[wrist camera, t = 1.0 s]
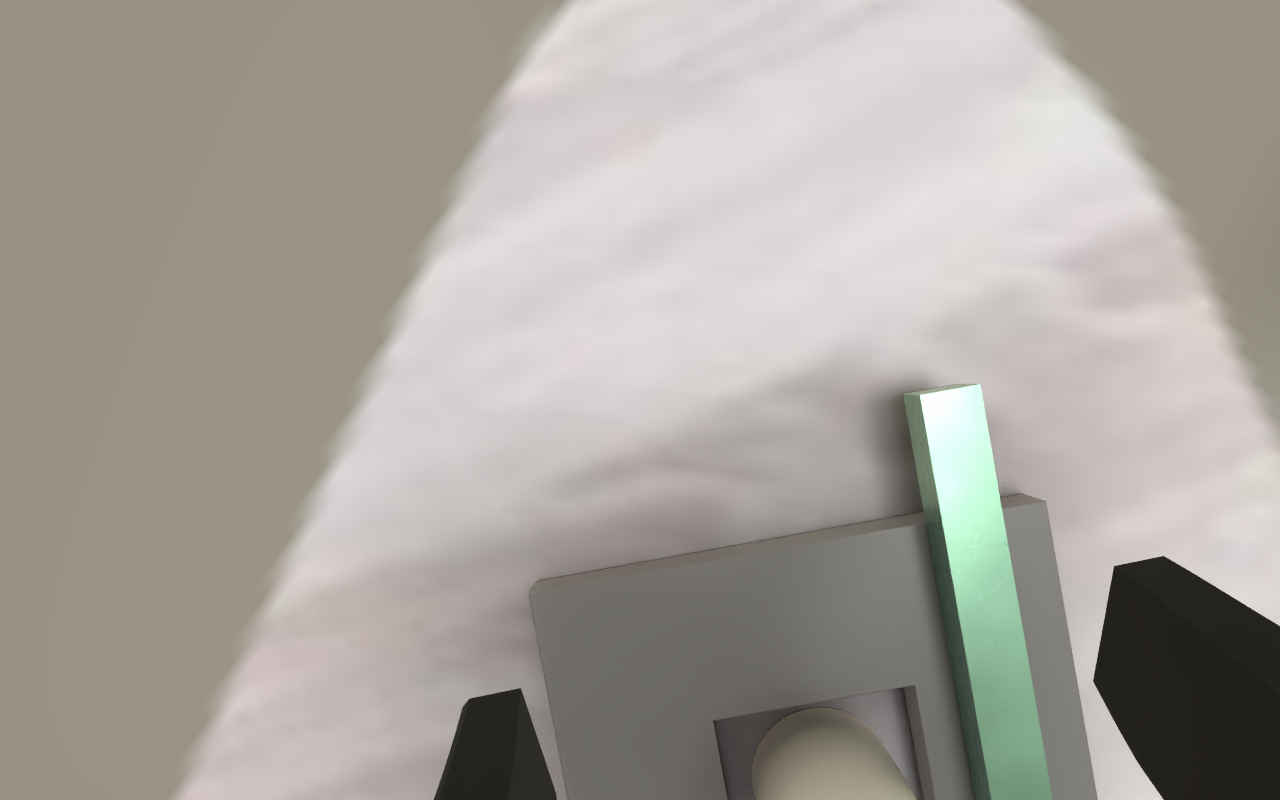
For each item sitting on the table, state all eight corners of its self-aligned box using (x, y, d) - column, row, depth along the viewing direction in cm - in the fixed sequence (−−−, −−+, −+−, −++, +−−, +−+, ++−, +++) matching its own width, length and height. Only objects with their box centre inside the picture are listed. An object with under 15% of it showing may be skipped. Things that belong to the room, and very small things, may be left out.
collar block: (1105, 972, 25) (1134, 1010, 24) (625, 1052, 25) (623, 1095, 24) (1022, 493, 25) (1045, 501, 23) (536, 581, 25) (528, 594, 24)
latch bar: (1088, 1026, 24) (1119, 1074, 22) (1000, 1041, 24) (1024, 1089, 22) (975, 380, 23) (999, 380, 22) (885, 396, 23) (902, 398, 22)
